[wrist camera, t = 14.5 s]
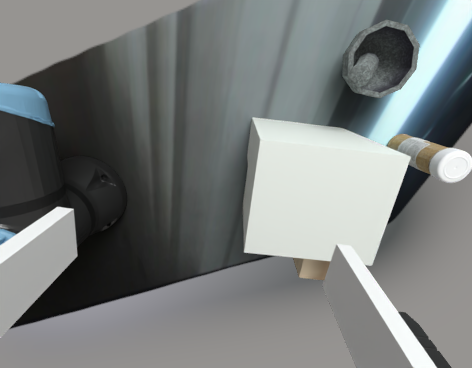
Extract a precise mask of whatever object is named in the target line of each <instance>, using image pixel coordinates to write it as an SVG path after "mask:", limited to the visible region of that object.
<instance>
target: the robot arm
mask: <svg viewBox="0 0 472 368" xmlns="http://www.w3.org/2000/svg"><path fill="white" fill-rule="evenodd" d="M54 127H55V124H54V123H53V122H52V120H51V116H50V112H49V109H48V105H47V101H46V99H45V97H44V96H43V95H42V94H41V93H40V92H39V91H37V90H35V89H33V88H30V87H25V86H19V85H13V84H5V83H0V338H1V337H2V336H3V335H4V333H6V331H7V330H8V329H9V328H10V327H11V326H12V325H13V324H14V323H15V322H16V321H17V320H18V319H19V318H20V317H21V316H22V314H23V313H24V312H25V311H26V310H27V309H28V308H29V307H30V306H31V305H32V304H33V303H34V302H35V301H36V300H37V298H38V297H39V296H40V295H41V294H42V293H43V292H44V291H45V290H46V289H47V288H48V287H49V286H50V285H51V284H52V283H53V281H54V280H55V279H56V278H57V277H58V276H59V275H60V274H61V273H62V272H63V271H64V270H65V269H66V268H67V267H68V266H69V264H70V263H71V262H72V261H73V260H74V259H75V258H76V257H77V248H78V247H79V245H80V244H81V243H82V242H83V241H84V240H85V239H86V238H87V237H88V236H90V235H92V234H95V233H97V232H100V231H102V230H105V229H107V228H109V227H110V226H112V225H113V224H114V223H115V222H116V221H117V220H118V219H119V218H120V217H121V216H122V214H123V213H124V211H125V208H126V204H127V193H126V189H125V186H124V184H123V182H122V180H121V178H120V177H119V175H118V174H117V173H116V172H115V171H114V170H113V169H112V168H111V167H110V166H108V165H107V164H105V163H104V162H102V161H100V160H98V159H95V158H92V157H87V156H73V157H69V158H66V159H64V160H62V161H60V158H59V153H58V148H57V143H56V138H55V132H54ZM322 287H323V289H324V292H325V294H326V297H327V299H328V301H329V304H330V306H331V309H332V311H333V313H334V316H335V318H336V321H337V323H338V325H339V328H340V330H341V332H342V335H343V337H344V340H345V342H346V344H347V347H348V349H349V352H350V354H351V356H352V359H353V361H354V363H355V366H356V368H451V366H450V365H449V364H448V362H447V361H446V360H445V358H444V357H443V356H442V355H441V353H440V352H439V351H437V348H436V347H435V345H434V344H433V343H432V341H431V340H429V339H428V336H427V335H426V333H425V332H424V331H423V329H422V328H421V327H420V325H419V324H418V323H417V322H415V321H414V320H413V319H412V318H411V317H410V316H409V315H408V314H406V313H404V312H397V310H396V309H395V307H394V306H393V305H392V303H391V302H390V300H389V299H388V297H387V296H386V295H385V293H384V292H383V290H382V289H381V287H380V286H379V285H378V283H377V282H376V280H375V279H374V278H373V276H372V275H371V273H370V272H369V271H368V269H367V268H366V266H365V265H364V263H363V262H362V260H361V259H360V258H359V256H358V255H357V253H356V252H355V251H354V249H353V248H352V246H350V245H342V244H336V247H335V250H334V253H333V256H332V259H331V262H330V265H329V268H328V271H327V274H326V277H325V280H324V283H323V286H322Z"/></svg>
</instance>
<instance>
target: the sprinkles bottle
mask: <svg viewBox="0 0 472 368" xmlns="http://www.w3.org/2000/svg"><path fill="white" fill-rule="evenodd" d="M387 147H389V148H391V149H394V150H396V151H398V152H401V153H403V154H406V155H408V156H410V157H411V158H410V161H409V164H408V165H410V166H413V167H415V168H417V169H419V170H421V171H424V172H426V173H429V174H431V175H432V176H433V177H434V178H436V179H438V180H440V181H443V182H446V183H454V182H458V181H460V180H462V179H463V178H464V177H466V176H467V175H468V173H469V172H470V171H471V168H472V158H471V156H470V155H469V154H468V153H466V152H465V151H462V150H458V149H455V148H447V147H444V146H441V145H437V144H434V143H431V142H429V141H426V140H422V139H419V138H414V137H411V136H409V135H407V134H399V135H396V136H394V137H393V138H392V139H391V140H390V141H389V143H388V146H387Z"/></svg>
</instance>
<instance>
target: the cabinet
mask: <svg viewBox="0 0 472 368" xmlns="http://www.w3.org/2000/svg"><path fill="white" fill-rule="evenodd" d="M410 158H411V157H410V156H408V155H406V154H403V153H401V152H398V151H396V150H394V149H391V148H389V147H386V146H384V145H382V144H379V143H377V142H374V141H372V140H370V139H367V138H365V137H363V136H360V135H358V134H355V133H353V132H351V131H348V130H346V129H343V128H339V127H331V126H322V125H313V124H305V123H296V122H287V121H279V120H270V119H262V118H253V117H252V122H251V130H250V137H249V145H248V153H247V160H248V169H247V177H246V184H245V192H244V199H243V231H244V252H245V253H254V254H264V255H274V256H284V257H293V258H303V259H313V260H322V261H331V259H332V256H333V253H334V250H335V247H336V244H342V245H350V246H352V248H353V249H354V251H355V252H356V253H357V255H358V256H359V258H360V259H361V260H362V262H363V263H364V265H372V264H373V261H374V258H375V255H376V252H377V250H378V247H379V244H380V241H381V239H382V236H383V233H384V230H385V228H386V225H387V222H388V219H389V217H390V214H391V211H392V208H393V205H394V203H395V200H396V197H397V194H398V192H399V189H400V186H401V183H402V181H403V178H404V175H405V172H406V169H407V167H408V164H409V161H410Z"/></svg>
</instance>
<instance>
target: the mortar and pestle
mask: <svg viewBox="0 0 472 368" xmlns="http://www.w3.org/2000/svg"><path fill="white" fill-rule="evenodd" d="M418 52H419V43H418V41H417V40H416V38H415V36H414V34H413V33H412V31H411V29H410V27H409V26H408V25H405V24H401V23H397V22H393V21H389V20H385V21H383V22H381V23H378V24H376V25H374V26H372V27H370V28H368V29H366V30H363V31H361V32H359V33H358V34H357V35H356V36H355V38H354V39H353V41H352V42H351V44H350V45H349V47H348V48H347V50H346V51H345V53H344V54H343V71H342V76H343V78H344V79H345V81H346V82H347V84H348V85H349V87H350V88H351V89H352V91H353V92H355V93H358V94H362V95H366V96H370V97H375V98H381V97H383V96H385V95H388V94H390V93H393V92H395V91H397V90H400V89H401V88H402V87H403V86H404V84H405V83H406V82H407V80H408V79H409V78H410V76H411V75H412V74H413V73H414V71H415V70H416V67H417V59H418Z"/></svg>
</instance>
